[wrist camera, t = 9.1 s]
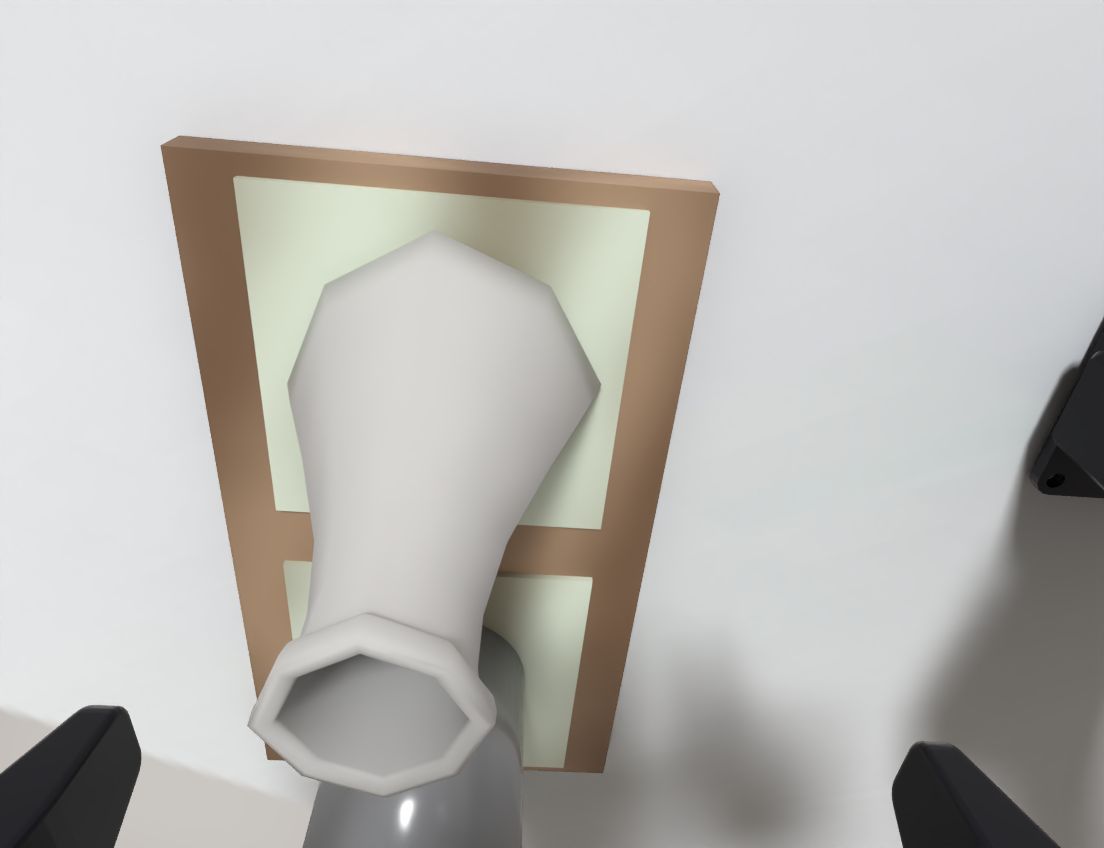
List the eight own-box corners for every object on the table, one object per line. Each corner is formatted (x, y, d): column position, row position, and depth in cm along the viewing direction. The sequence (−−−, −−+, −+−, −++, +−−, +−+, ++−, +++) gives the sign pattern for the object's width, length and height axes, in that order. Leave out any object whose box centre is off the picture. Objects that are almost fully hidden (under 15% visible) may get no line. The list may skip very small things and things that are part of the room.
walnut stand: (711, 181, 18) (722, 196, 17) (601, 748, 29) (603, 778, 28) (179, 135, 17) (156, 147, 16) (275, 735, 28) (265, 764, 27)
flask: (456, 537, 22) (404, 918, 13) (238, 377, 19) (-8, 729, 10) (651, 379, 19) (743, 725, 11) (431, 166, 16) (314, 404, 8)
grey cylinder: (531, 619, 23) (528, 848, 17) (519, 735, 26) (513, 965, 20) (345, 610, 23) (279, 840, 17) (354, 728, 26) (300, 959, 20)
